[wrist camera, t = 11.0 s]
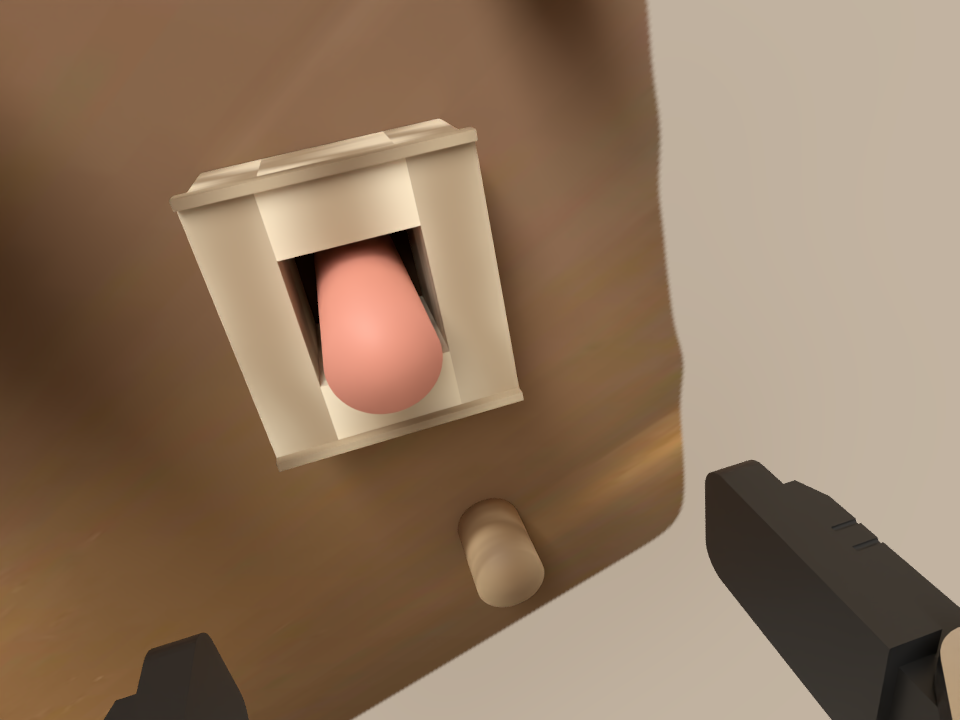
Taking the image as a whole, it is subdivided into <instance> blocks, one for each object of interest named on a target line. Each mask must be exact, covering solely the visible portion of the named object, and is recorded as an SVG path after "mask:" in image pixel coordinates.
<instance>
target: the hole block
mask: <svg viewBox="0 0 960 720" xmlns="http://www.w3.org/2000/svg"><path fill="white" fill-rule="evenodd" d="M477 140H478V139H477V133H476V129H474V128H473V127H467V128H463V129H457V128H455V127H453V126H452V125H450V124H448V123H446V122H444V121H443V120H441V119H435V120H431V121H426V122H422V123H418V124H413V125H409V126H404V127H400V128H396V129H391V130H387V131H383V132H378V133H374V134H370V135H365V136H361V137H357V138H352V139H348V140H344V141H339V142H335V143H330V144H326V145H322V146H317V147H313V148H309V149H304V150H300V151H296V152H291V153H287V154H283V155H278V156H274V157H270V158H265V159H261V160H256V161H252V162H248V163H243V164H239V165H235V166H230V167H226V168H222V169H217V170H213V171H209V172H204V173H201V174H200V175H199V176H198V178H197V179H196V181H195V182H194V184H193V185H192V186H191V188H190V189H189V191H188V192H187V193H184V194H179V195H175V196H172V198H171V199H170V200H169V202H170V205H171V207H172V210H173V212H177V213H178V216H179V218H180V221H181V223H182V226H183V228H184V230H185V233H186V235H187V238H188V240H189V243H190V245H191V248H192V250H193V253H194V255H195V258H196V260H197V262H198V265H199V267H200V270H201V272H202V275H203V277H204V280H205V282H206V285H207V287H208V290H209V292H210V295H211V297H212V299H213V302H214V304H215V307H216V309H217V312H218V314H219V317H220V319H221V322H222V324H223V327H224V329H225V332H226V334H227V336H228V339H229V341H230V344H231V346H232V349H233V351H234V354H235V356H236V359H237V361H238V364H239V366H240V369H241V371H242V373H243V376H244V378H245V381H246V383H247V386H248V388H249V391H250V393H251V396H252V398H253V401H254V403H255V406H256V408H257V410H258V413H259V415H260V418H261V420H262V423H263V425H264V428H265V430H266V433H267V435H268V438H269V440H270V443H271V445H272V447H273V450H274V452H275V455H276V457H277V463H276V465H277V467H278V469H279V472H281V471H284V470H287V469H291V468H294V467H298V466H301V465H304V464H308V463H311V462H315V461H318V460H321V459H325V458H328V457H332V456H335V455H338V454H342V453H345V452H349V451H352V450H355V449H359V448H362V447H366V446H369V445H372V444H376V443H379V442H383V441H386V440H389V439H393V438H396V437H400V436H403V435H406V434H410V433H413V432H417V431H420V430H423V429H427V428H430V427H434V426H437V425H440V424H444V423H447V422H451V421H454V420H457V419H461V418H464V417H468V416H471V415H474V414H478V413H481V412H485V411H488V410H491V409H495V408H498V407H502V406H505V405H508V404H512V403H515V402H519V401H522V400H524V399H523V394H522V391H521V390H520V388H519V384H518V379H517V373H516V368H515V362H514V356H513V351H512V345H511V340H510V334H509V328H508V323H507V317H506V312H505V306H504V300H503V295H502V289H501V284H500V278H499V272H498V267H497V261H496V256H495V250H494V244H493V239H492V233H491V228H490V222H489V216H488V211H487V205H486V200H485V194H484V188H483V183H482V177H481V172H480V166H479V160H478V155H477V149H476V144H475V141H477ZM405 229H406V230H407V234H408V238H409V242H410V246H411V251H412V255H413V259H414V263H415V267H416V271H417V276H418V280H419V284H420V288H421V292H422V296H419V298H420V300H421V302H422V304H423V306H424V308H425V310H426V312H427V315H428V317H429V319H430V321H431V323H432V325H433V327H434V329H435V332H436V334H437V336H438V338H439V340H440V343H441V346H442V352H443V362H442V368H441V372H440V375H439V377H438V380H437V382H436V383H435V385H434V387H433V388H432V389H431V391H430V392H429V393H428V394H427V395H426V396H425V397H424V398H423V399H422V400H420V401H419V402H418V403H416V404H414V405H413V406H411V407H409V408H407V409H404V410H402V411H399V412H395V413H389V414H370V413H365V412H361V411H358V410H356V409H353V408H351V407H350V406H348V405H346V404H345V403H343V402H342V401H341V400H340V399H339V398H338V397H337V396H336V395H335V394H334V393H333V392H332V390H331V388H330V387H329V385H328V383H327V380H326V378H325V374H324V367H323V355H322V343H321V332H320V323H317V324H316V323H315V320H314V317H313V314H312V311H311V308H310V305H309V302H308V299H307V296H306V293H305V290H304V287H303V284H302V281H301V278H300V275H299V271H298V268H297V265H296V262H295V259H294V257H297V256H301V255H305V254H309V253H313V252H317V251H321V250H325V249H329V248H333V247H337V246H341V245H345V244H349V243H353V242H357V241H361V240H365V239H369V238H373V237H377V236H381V235H385V234H389V233H393V232H397V231H401V230H405Z"/></svg>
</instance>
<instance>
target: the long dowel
mask: <svg viewBox="0 0 960 720" xmlns="http://www.w3.org/2000/svg"><path fill="white" fill-rule="evenodd" d="M314 260H315V272H316V284H317V296H318V308H319V320H320V332H321V343H322V355H323V367H324V374H325V378H326V380H327V383H328V385H329V387H330V388H331V390H332V392H333V393H334V394H335V395H336V396H337V397H338V398H339V399H340V400H341V401H342V402H343V403H345V404H346V405H348V406H350V407H351V408H353V409H356V410H358V411H361V412H365V413H370V414H389V413H395V412H399V411H402V410H404V409H407V408H409V407H411V406H413V405H414V404H416V403H418V402H419V401H420V400H422V399H423V398H424V397H425V396H426V395H427V394H428V393H429V392H430V391H431V389H432V388H433V387H434V385H435V383H436V382H437V380H438V377H439V375H440V372H441V368H442V362H443V352H442V346H441V343H440V340H439V338H438V336H437V334H436V332H435V329H434V327H433V325H432V323H431V321H430V319H429V317H428V315H427V312H426V310H425V308H424V306H423V304H422V302H421V300H420V298H419V296H418V293H417V291H416V289H415V287H414V285H413V283H412V281H411V279H410V277H409V274H408V272H407V270H406V268H405V266H404V264H403V262H402V260H401V258H400V255H399V253H398V251H397V249H396V247H395V245H394V243H393V241H392V239H391V237H390V236H389V234H385V235H381V236H377V237H373V238H369V239H365V240H361V241H357V242H353V243H349V244H345V245H341V246H337V247H333V248H329V249H325V250H321V251H317V252H315V253H314Z"/></svg>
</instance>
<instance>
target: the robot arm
mask: <svg viewBox="0 0 960 720" xmlns="http://www.w3.org/2000/svg"><path fill="white" fill-rule="evenodd" d="M705 509H706V510H705V514H706V515H705V518H706V546H707V551H708V555H709V558H710V560H711V563H712V565H713V567H714V569H715V571H716V573H717V574H718V576H719V578H720V579H721V580H722V582H723V583H724V584H725V586H726V587H727V588H728V589H729V591H730V592H731V593H732V594H733V596H734V597H735V598H736V599H737V601H738V602H739V603H740V605H741V606H742V607H743V608H744V609H745V611H746V612H747V613H748V614H749V616H750V617H751V618H752V620H753V621H754V622H755V624H757V626H758V627H759V628H760V630H761V631H762V632H763V634H764V635H765V636H766V637H767V639H768V640H769V641H770V642H771V644H772V645H773V646H774V647H775V649H776V650H777V651H778V653H779V654H780V655H781V656H782V658H783V659H784V660H785V661H786V663H787V664H788V665H789V666H790V668H791V669H792V670H793V672H794V673H795V674H796V675H797V677H798V678H799V679H800V680H801V682H802V683H803V684H804V685H805V687H806V688H807V689H808V690H809V692H810V693H811V694H812V695H813V697H814V698H815V699H816V701H817V702H818V703H819V704H820V705H821V707H822V708H823V709H824V711H825V712H826V713H827V714H828V715H829V717H830V718H831V719H832V720H960V607H958V606H957V605H956V604H955V603H953V602H952V601H951V600H950V599H949V598H948V597H947V596H945V595H944V594H943V593H942V592H941V591H940V590H938V589H937V588H936V587H935V586H934V585H933V584H931V583H930V582H929V581H928V580H927V579H926V578H924V577H923V576H922V575H921V574H920V573H918V572H917V571H916V570H915V569H914V568H913V567H912V566H910V565H909V564H908V563H907V562H906V561H905V560H903V559H902V558H901V557H900V556H899V555H897V554H896V553H895V552H894V551H893V550H892V549H890V548H889V547H888V546H887V545H886V544H885V543H880V542H879V541H878V538H877V537H876V536H875V535H874V534H873V533H872V532H871V531H869V530H868V529H867V528H866V527H865V526H864V525H862V524H861V523H860V524H858V523H857V522H856V519H855V518H854V517H853V516H852V515H851V514H849V513H848V512H847V511H846V510H845V509H844V508H843V507H841V506H840V505H839V504H838V503H836V502H835V501H834V500H833V499H832V498H831V497H829V496H828V495H826V494H823V493H821V492H819V491H817V490H815V489H813V488H811V487H808V486H806V485H804V484H802V483H799V482H797V481H795V480H794V481H791V482H788V483H785V484H783V483H782V482H781V481H780V480H778V479H777V478H776V477H775V476H774V475H773V474H772V473H771V472H770V471H768V470H767V469H766V468H765V467H764V466H763V465H762V464H760V463H759V462H757V461H755V460H749V461H745V462H742V463H739V464H736V465H733V466H730V467H726V468H723V469H720V470H717V471H714V472H711V473H709V474H708V475H707V477H706V480H705ZM104 720H248V714H247V710H246V706H245V703H244V700H243V697H242V695H241V693H240V691H239V689H238V687H237V686H236V684H235V682H234V680H233V678H232V676H231V674H230V673H229V671H228V669H227V667H226V665H225V663H224V661H223V660H222V658H221V656H220V654H219V652H218V650H217V648H216V647H215V645H214V643H213V641H212V639H211V638H210V637H209V635H208V634H206V633H200V634H197V635H194V636H191V637H188V638H184V639H181V640H178V641H175V642H172V643H169V644H166V645H163V646H159V647H156V648H153V649H151V650H149V652H148V653H147V655H146V657H145V660H144V663H143V667H142V672H141V676H140V680H139V685H138V689H137V693H136V694H135V695H132V696H129V697H126V698H123V699H119V700H116V701H115V703H114V704H113V706H112V708H111V709H110V711H109V712H108V714H107V715H106V717H105V719H104Z"/></svg>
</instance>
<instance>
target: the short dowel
mask: <svg viewBox="0 0 960 720" xmlns="http://www.w3.org/2000/svg"><path fill="white" fill-rule="evenodd" d="M458 534H459V537H460V540H461V543H462V546H463V549H464V552H465V555H466V558H467V561H468V564H469V567H470V570H471V573H472V576H473V579H474V582H475V585H476V588H477V591H478V594H479V596H480V598H481V599H482V600H483V601H484V602H485V603H487V604H489V605H492V606H495V607H509V606H514V605H517V604H520V603H522V602H524V601H526V600H527V599H529V598H530V597H531V596H533V595H534V594H535V593H536V592H537V590H538V589H539V588H540V586H541V584H542V582H543V579H544V568H543V565H542V563H541V561H540V559H539V556H538V554H537V552H536V550H535V548H534V546H533V544H532V542H531V539H530V537H529V535H528V533H527V531H526V529H525V527H524V525H523V522H522V520H521V518H520V516H519V514H518V512H517V510H516V508H515V507H514V506H513V505H512V504H511V503H510V502H508V501H506V500H502V499H486V500H483V501H480V502H478V503H476V504H474V505H472V506H471V507H470V508H468V509H467V510H466V511H465V513H464V514H463V515H462V517H461V519H460V521H459V524H458Z"/></svg>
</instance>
